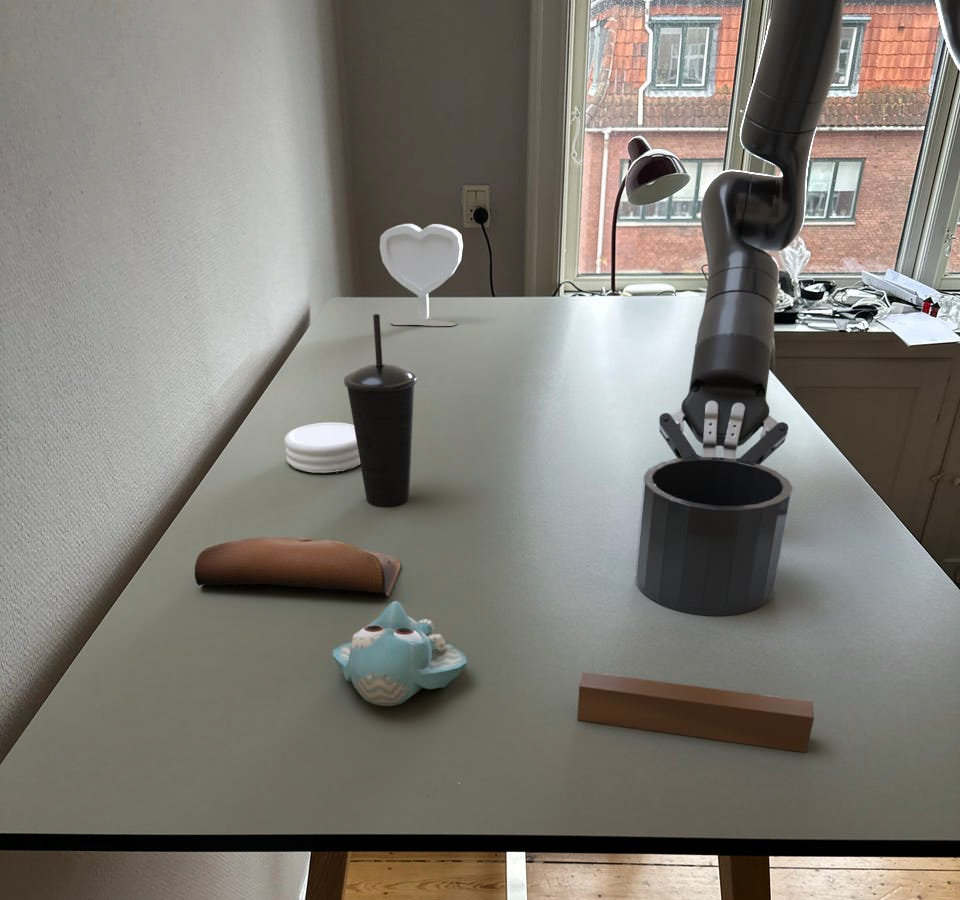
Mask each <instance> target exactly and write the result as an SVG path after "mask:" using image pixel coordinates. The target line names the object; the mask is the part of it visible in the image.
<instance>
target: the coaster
mask: <svg viewBox="0 0 960 900" xmlns="http://www.w3.org/2000/svg"><path fill="white" fill-rule="evenodd" d="M284 445H285V454H286V462H287V461H288V462H287V464H288V463H290V464H291V465H293V466H295V467H297V468H301V469H305V470H312V471H336V470H343V469H349V468H352V467H355V466H358V465H360V458H359V452H358V446H357V441H356V435H355V429H354V424H352V423H351V424H350V423H345V422H317V423H310V424H305V425H302V426H299V427H297V428H293V429H292V430H290V431H289V432H287V434H286V435H285V437H284ZM360 466H361V465H360ZM358 467H359V466H358Z"/></svg>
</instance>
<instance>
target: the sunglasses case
mask: <svg viewBox="0 0 960 900" xmlns="http://www.w3.org/2000/svg"><path fill="white" fill-rule="evenodd" d="M401 570H402V562H401V561H400V560H399V559H396V558H393V557H392V556H389V555H387V554H383V553H380V552H376V551H371V550H365V549H361V548H359V547H357V546H354V545H351V544H349V543H346V542H342V541H338V540H332V539H311V538H310V537H299V538H298V537H297V538H295V537H267V536H265V537H262V536H261V537H253V538H252V537H251V538H243V539H238V540H233V541H231V540H230V541H228V542H227V541H225V542H223V543H217V544H215V545H213V546H209V547H206V548H204V549H203V550H201V552H199V554H198V556H197V557H196V559H195V564H194V579H195V583H196V585H198V586H200V585H202V586H203V585H206V586H207V585H209V586H210V585H211V586H212V585H216V586H217V585H218V586H219V585H220V586H221V585H235V586H237V585H242V584H245V585H261V584H267V585H272V586H284V587H308V588H309V587H312V588H318V589H328V590H329V589H330V590H346V591H358V592H371V593H376V594H377V593H382V594H383V596H386V597H390V595H391V594H392V592H393V590H394V587H395V585H396V582H397V580H398V577H399V575H400V571H401Z"/></svg>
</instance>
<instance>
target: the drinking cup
mask: <svg viewBox="0 0 960 900" xmlns="http://www.w3.org/2000/svg"><path fill="white" fill-rule="evenodd" d="M372 320H373V336H374V350H375V351H374V352H375V364H370V365H366V366H363V367H361V368H358V369H357V370H354V371H353V372H350V373H348V374H347V375H345V376H344V378H343V384H344V387H346V388H347V394H348V399H349V405H350V411H351V416H352V422H353V425H354V429H355V435H356V441H357V446H358V452H359V458H360V464H361V465H360V469H361V475H362V480H363V486H364V492H365V498H366V501H367V503H369V504H370V505H372V506H375V507H386V508H389V507H396V506H401V505H403V504H405V503H407V502H408V501H409V499H410V490H411V488H410V487H411V466H412V465H411V464H412V441H413V422H414V421H413V420H414V419H413V417H414V397H415V396H414V394H415V385H416V384H417V375H416V373H414V372H411V371H409V370H406V369H404V368H402V367H399V366H397V365H392V364H387V363H383V348H382V329H381V314H379V313H374V314H373V315H372Z"/></svg>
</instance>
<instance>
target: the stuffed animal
mask: <svg viewBox="0 0 960 900" xmlns="http://www.w3.org/2000/svg"><path fill="white" fill-rule="evenodd" d="M434 629H435V626H434V623H433V621H432V620H430V619H427V618H424V619H420V620H418V621H417V620H416V619H414V618H412V617H410V616H408V615H407V613H406V611H405V609H404V608H403V605H402V604H401V602H399V601H398V600H393V601H391V602H390V604H388V606H386V607H385V609H384V610H383V611H382V612H381V614H380V616H379V617H378V618H376V619H374V620H373V621H372V622H371V623H369V624H368V625H366V626H365V627H363V628H361V629H360V630H358V631H356V632H355V633H354V634H353V635H352V638H351V641H349V642H345V643H343V644H342V645H339V646H338V647H336V648H334V649H332V657H333V659H334V660H335V663H336V664H337V667H338V669H339V670H340V671H341V673H342V674H343V676H344V679H345V681H346V682H350V683H352V685H353V687H354V689H355V690H356V691H357V692H358V694H359V695H360V696H361V697H362V698H363V700H364V701H366V702H368V703H370V704H372V705H376V706H381V707H394V706H397V705H398V706H399V705H401V704H403V703H405V702H406V701H407V700H408V699H410V698H411V697H412V696H414V695H415V694H417V693H418V692H419V691H421V689H425V690H434V689H438V688H443V689H444V688H445V687H446V686H448V685H449V684H450V683H451V682H452V681H453V680H454V679H456V678H458V677H459V676H460V675H461V673H462V671H463V670H464V668H465V666H466V665H467V663H468V661H467V660H468V659H467V657H466V655H465V653H464V652H462V651H461V650H459V649H458V648H456V647H455V646H454V645H452V644H450V643H448V642H446V641H445V638H444V637H443V635H441V634H440V633H433V632H434ZM433 652H434V653H433Z"/></svg>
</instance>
